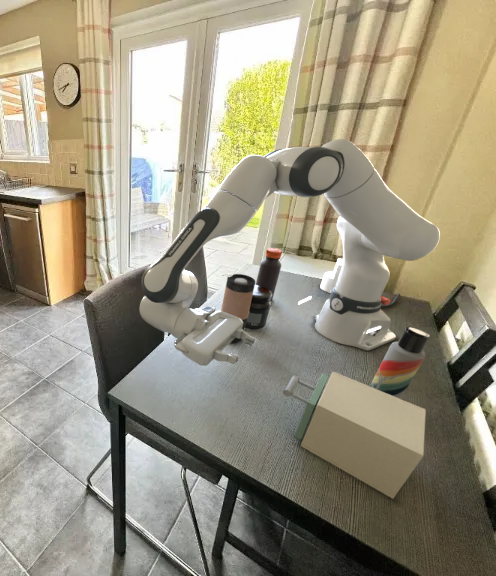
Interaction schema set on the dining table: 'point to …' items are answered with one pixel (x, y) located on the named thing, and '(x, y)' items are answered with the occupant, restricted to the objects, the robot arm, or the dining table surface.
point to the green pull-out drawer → (310, 403)
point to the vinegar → (269, 270)
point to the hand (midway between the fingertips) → (245, 351)
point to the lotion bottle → (401, 363)
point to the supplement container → (259, 308)
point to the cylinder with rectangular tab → (331, 277)
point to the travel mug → (238, 298)
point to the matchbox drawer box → (367, 433)
